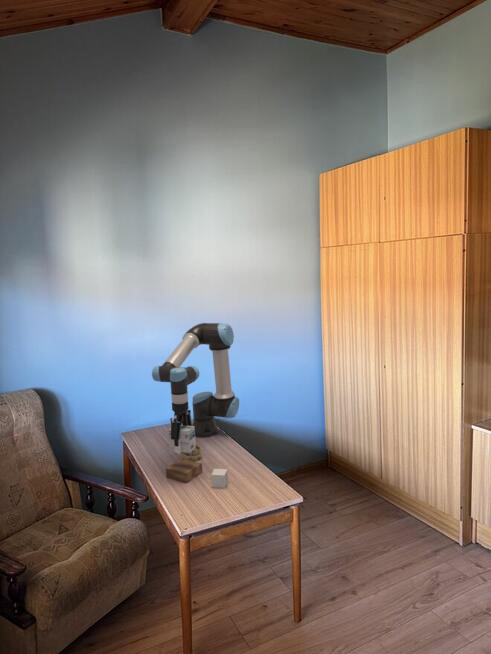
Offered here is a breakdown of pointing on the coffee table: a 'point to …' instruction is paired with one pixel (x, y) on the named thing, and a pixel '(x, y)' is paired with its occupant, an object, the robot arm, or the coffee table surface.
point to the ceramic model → (192, 454)
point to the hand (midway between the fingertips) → (182, 448)
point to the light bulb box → (184, 439)
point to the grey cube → (219, 478)
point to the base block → (184, 470)
